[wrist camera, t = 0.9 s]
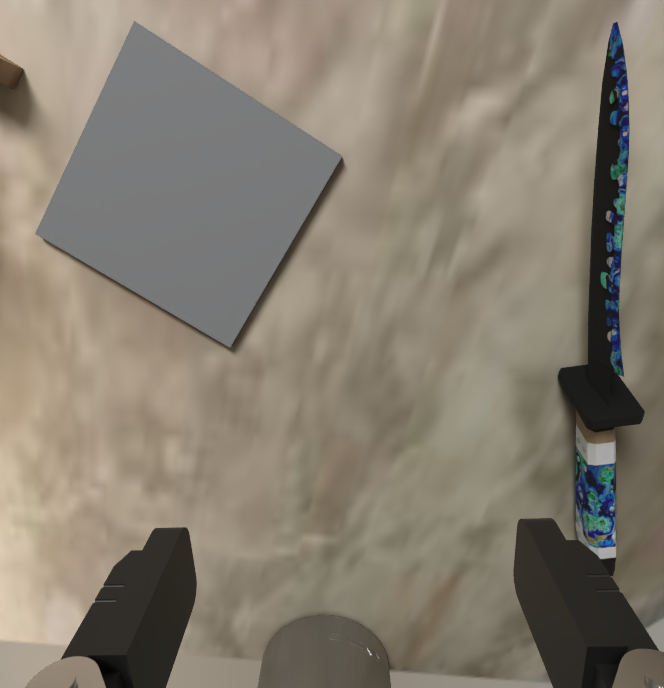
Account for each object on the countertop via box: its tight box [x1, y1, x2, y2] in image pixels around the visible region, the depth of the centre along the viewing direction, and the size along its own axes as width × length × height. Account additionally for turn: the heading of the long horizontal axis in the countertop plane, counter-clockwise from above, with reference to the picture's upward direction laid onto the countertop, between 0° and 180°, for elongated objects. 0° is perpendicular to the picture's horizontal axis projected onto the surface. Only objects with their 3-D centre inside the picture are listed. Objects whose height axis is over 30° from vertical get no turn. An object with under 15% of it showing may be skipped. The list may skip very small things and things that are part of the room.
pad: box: [35, 21, 342, 348], centre depth 30 cm, size 13×13×1 cm
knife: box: [558, 22, 645, 576], centre depth 30 cm, size 31×3×5 cm, turn 5°
